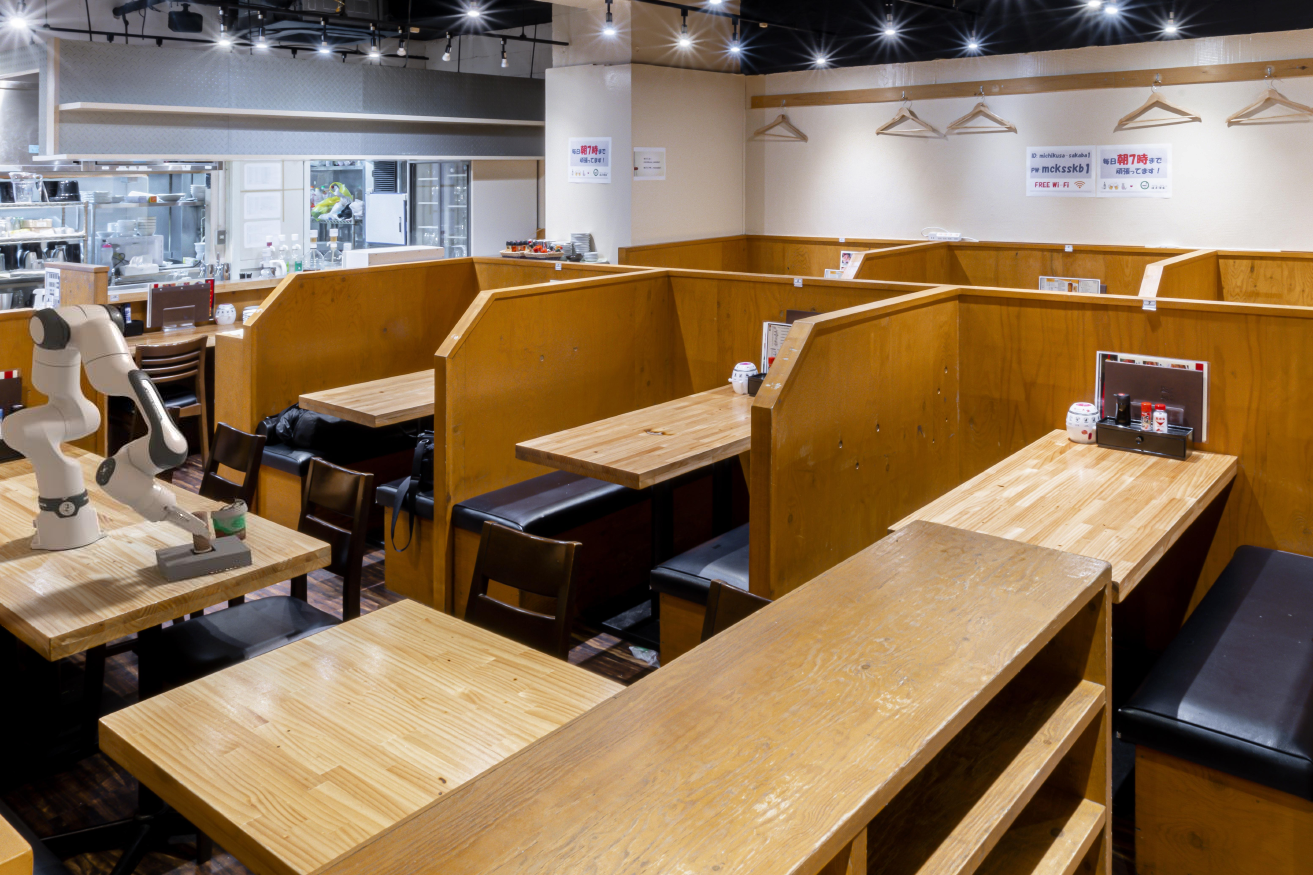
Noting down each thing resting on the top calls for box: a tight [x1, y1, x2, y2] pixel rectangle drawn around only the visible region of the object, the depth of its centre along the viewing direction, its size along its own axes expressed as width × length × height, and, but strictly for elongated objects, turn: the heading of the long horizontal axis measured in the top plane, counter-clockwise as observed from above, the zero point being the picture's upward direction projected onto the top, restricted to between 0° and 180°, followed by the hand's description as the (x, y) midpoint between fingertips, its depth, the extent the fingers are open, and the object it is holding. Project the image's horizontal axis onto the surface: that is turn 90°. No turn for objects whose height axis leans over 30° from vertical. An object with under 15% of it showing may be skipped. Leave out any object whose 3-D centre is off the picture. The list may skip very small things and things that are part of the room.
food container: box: [210, 498, 249, 542], centre depth 291 cm, size 12×6×10 cm, turn 168°
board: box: [155, 535, 253, 583], centre depth 273 cm, size 15×20×4 cm
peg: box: [191, 510, 211, 555], centre depth 272 cm, size 4×4×14 cm
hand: (200, 531), depth 271 cm, fingers open, 8 cm apart
